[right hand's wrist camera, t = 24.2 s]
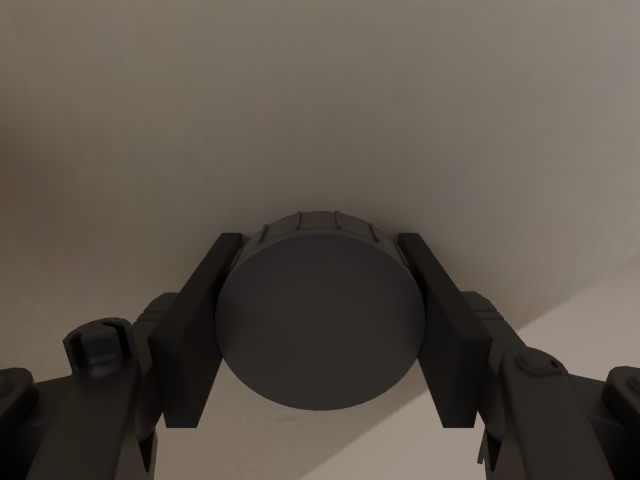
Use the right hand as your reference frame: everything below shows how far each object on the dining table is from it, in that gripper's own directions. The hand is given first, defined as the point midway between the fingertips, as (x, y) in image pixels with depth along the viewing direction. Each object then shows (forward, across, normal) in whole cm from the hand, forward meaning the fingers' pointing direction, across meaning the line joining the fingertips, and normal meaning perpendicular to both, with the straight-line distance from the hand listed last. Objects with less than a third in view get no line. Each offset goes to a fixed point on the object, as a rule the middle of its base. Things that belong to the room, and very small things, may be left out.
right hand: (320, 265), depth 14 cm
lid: (-4, 0, 0) cm, 4 cm away
